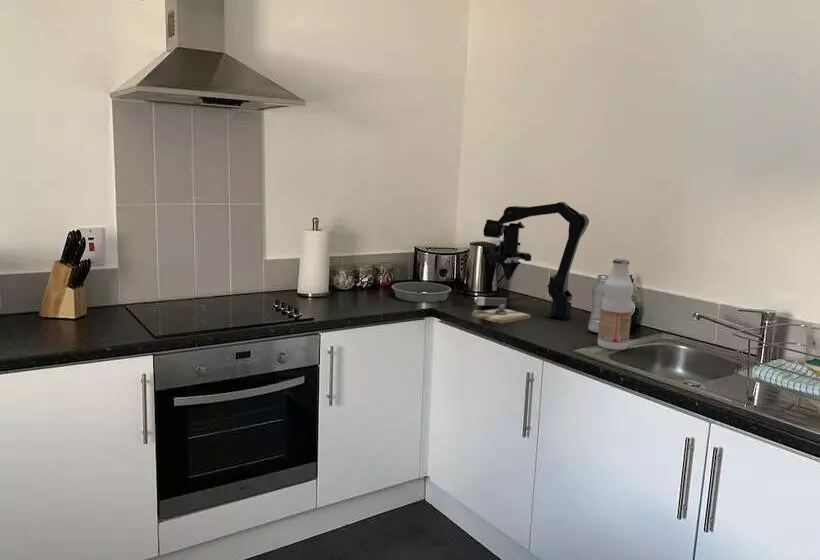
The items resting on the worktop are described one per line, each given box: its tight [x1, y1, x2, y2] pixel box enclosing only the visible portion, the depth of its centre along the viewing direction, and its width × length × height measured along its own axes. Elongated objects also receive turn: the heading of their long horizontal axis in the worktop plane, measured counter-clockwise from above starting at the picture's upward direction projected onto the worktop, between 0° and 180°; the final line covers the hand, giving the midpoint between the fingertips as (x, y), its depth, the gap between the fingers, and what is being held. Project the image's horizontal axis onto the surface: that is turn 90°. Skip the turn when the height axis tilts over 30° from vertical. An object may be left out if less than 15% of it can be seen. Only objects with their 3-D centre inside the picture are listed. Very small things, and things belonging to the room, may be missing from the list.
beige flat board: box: [470, 308, 531, 324], centre depth 254 cm, size 16×18×2 cm
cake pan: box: [391, 281, 452, 303], centre depth 283 cm, size 25×25×4 cm
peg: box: [476, 296, 508, 311], centre depth 252 cm, size 11×2×4 cm, turn 94°
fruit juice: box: [597, 258, 635, 351], centre depth 217 cm, size 9×9×28 cm
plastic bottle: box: [587, 274, 609, 334], centre depth 235 cm, size 6×7×20 cm
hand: (507, 279), depth 264 cm, fingers closed
